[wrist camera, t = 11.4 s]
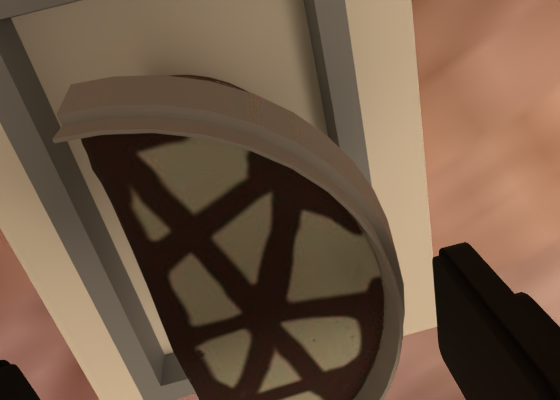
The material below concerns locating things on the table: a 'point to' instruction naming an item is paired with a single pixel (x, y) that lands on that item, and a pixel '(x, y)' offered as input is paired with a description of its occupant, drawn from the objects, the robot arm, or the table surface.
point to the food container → (246, 237)
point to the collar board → (208, 63)
